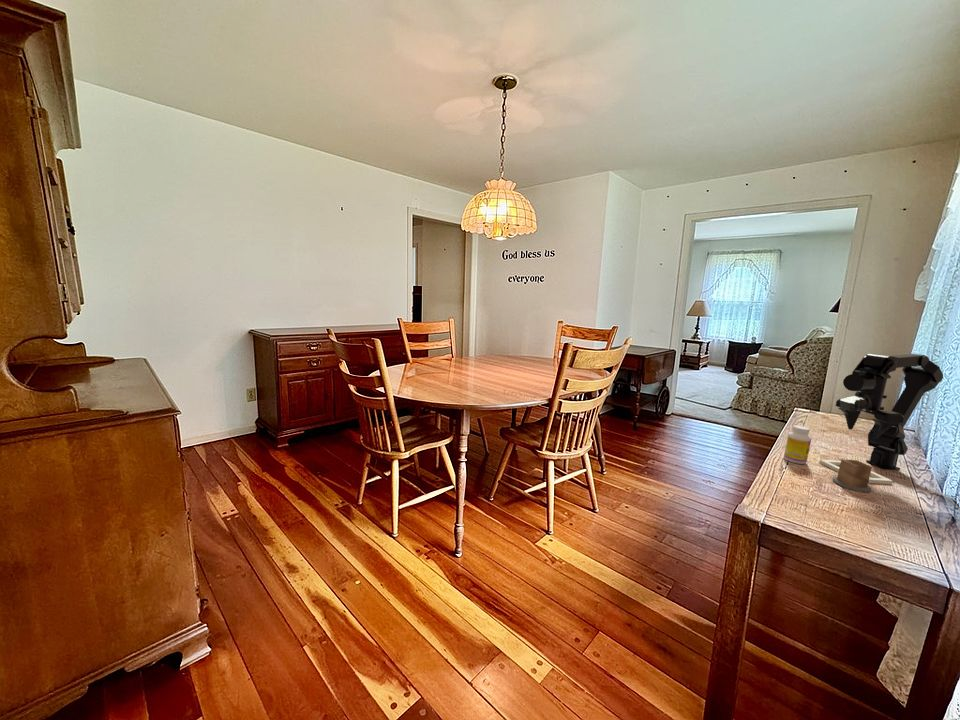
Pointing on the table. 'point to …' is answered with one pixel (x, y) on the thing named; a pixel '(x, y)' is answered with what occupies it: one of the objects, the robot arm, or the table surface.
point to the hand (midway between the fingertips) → (862, 433)
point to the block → (854, 473)
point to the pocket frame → (876, 477)
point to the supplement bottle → (798, 445)
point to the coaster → (851, 487)
